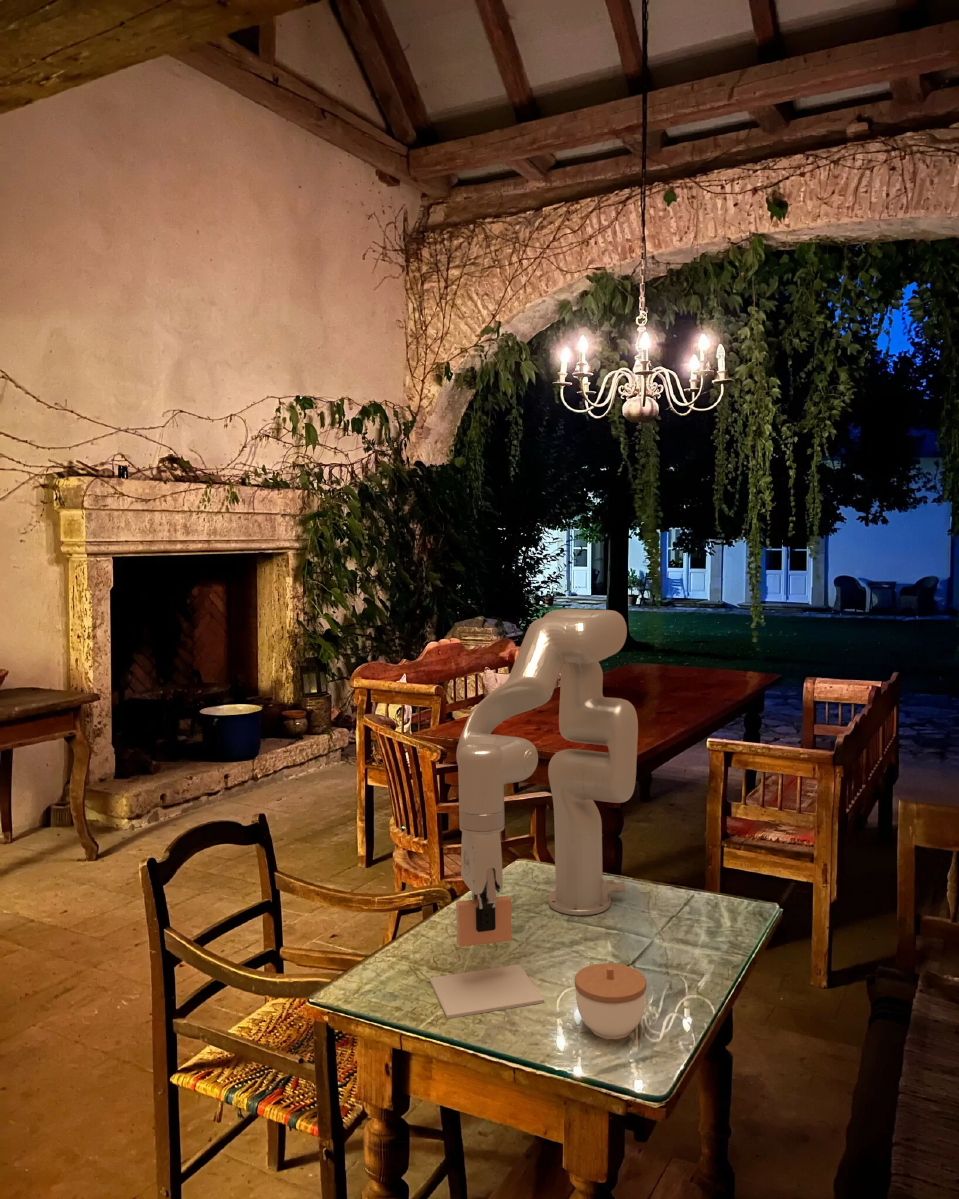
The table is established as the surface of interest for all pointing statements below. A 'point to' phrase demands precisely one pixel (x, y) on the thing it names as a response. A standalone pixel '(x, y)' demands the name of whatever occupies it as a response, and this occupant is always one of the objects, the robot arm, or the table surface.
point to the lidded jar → (610, 999)
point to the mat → (485, 991)
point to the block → (467, 923)
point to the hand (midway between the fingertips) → (484, 927)
